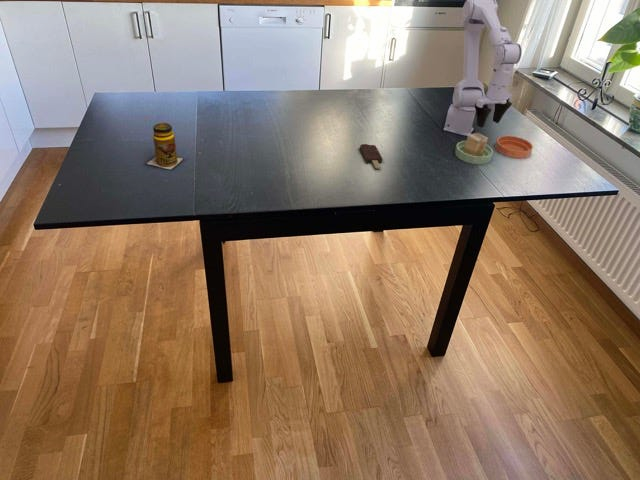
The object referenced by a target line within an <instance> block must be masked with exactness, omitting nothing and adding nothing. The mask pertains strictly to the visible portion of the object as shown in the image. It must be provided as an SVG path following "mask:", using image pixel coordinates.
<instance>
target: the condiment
mask: <svg viewBox="0 0 640 480" xmlns="http://www.w3.org/2000/svg"><path fill="white" fill-rule="evenodd" d="M152 128H153V129H152V130H153V136H152V138H153V144H154V151H155V156H154V157H153V158H152V159H151V160H149V161H148V162H146V165H150V166H154V167H158V168H163V169H165V170H172V169H174V168H175V167H176V166H177V165H178V164H179V163H181V162H182V161H183V160H184V158H182V157H178V153H177V145H176V138H175V133H174V131H173V127H172V125H171V124H170V123H168V122H159V123H157V124H155V125H153V127H152Z"/></svg>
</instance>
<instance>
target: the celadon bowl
mask: <svg viewBox="0 0 640 480" xmlns="http://www.w3.org/2000/svg"><path fill="white" fill-rule="evenodd" d="M466 141H467V140H461V141H459V142H457V143H456V145H455V150H454V154H455V156H456V157H457V158H458V159H459V160H461V161H463V162H466V163H468V164H473V165H486V164H488V163H490V162H491V161H492V158H493V154H494V150H493V148H492V147H491V146H490V145H488V144H486V147H485V150H484V154H483V157H479V156H472V155H468V154H466V153H464V149H465V145H466Z"/></svg>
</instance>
